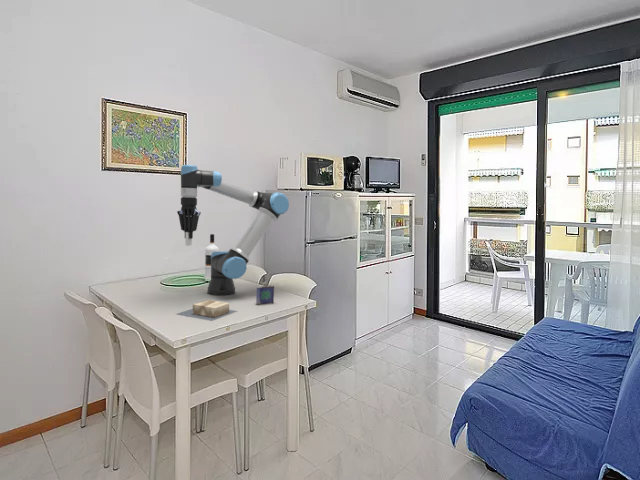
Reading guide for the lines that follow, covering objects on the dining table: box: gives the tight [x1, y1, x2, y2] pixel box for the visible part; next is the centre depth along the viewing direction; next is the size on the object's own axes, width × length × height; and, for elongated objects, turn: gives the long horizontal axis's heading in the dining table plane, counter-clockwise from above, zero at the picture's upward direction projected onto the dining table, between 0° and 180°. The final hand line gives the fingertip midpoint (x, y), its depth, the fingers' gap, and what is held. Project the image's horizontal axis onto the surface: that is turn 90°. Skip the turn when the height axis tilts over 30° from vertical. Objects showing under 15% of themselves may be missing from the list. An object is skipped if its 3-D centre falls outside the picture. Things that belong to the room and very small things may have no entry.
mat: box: [176, 308, 238, 322], centre depth 177 cm, size 20×18×1 cm
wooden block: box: [192, 299, 230, 318], centre depth 175 cm, size 4×10×12 cm
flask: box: [255, 282, 275, 306], centre depth 198 cm, size 9×3×11 cm, turn 121°
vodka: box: [203, 233, 220, 279], centre depth 249 cm, size 9×9×30 cm
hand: (188, 245), depth 194 cm, fingers closed
